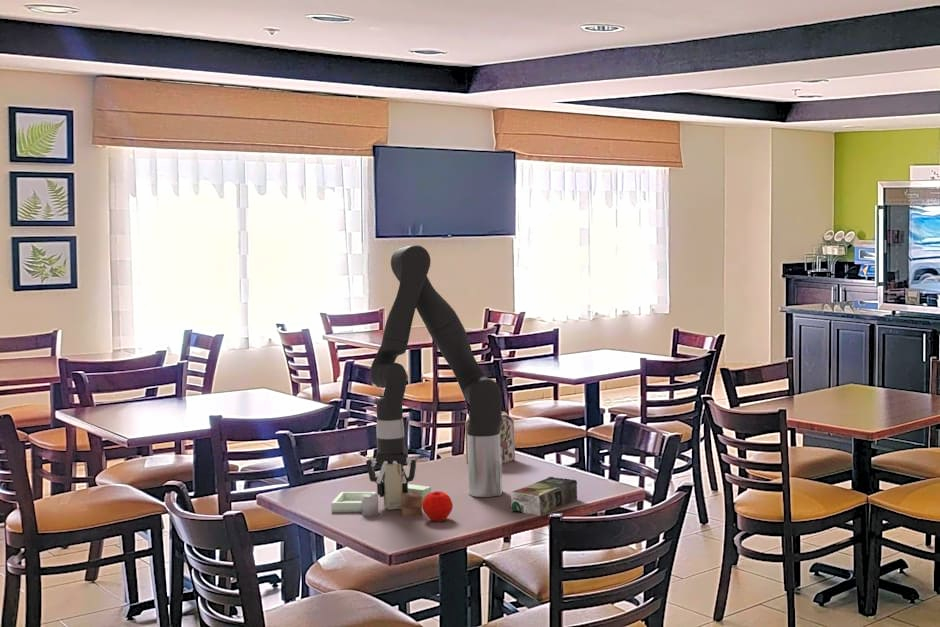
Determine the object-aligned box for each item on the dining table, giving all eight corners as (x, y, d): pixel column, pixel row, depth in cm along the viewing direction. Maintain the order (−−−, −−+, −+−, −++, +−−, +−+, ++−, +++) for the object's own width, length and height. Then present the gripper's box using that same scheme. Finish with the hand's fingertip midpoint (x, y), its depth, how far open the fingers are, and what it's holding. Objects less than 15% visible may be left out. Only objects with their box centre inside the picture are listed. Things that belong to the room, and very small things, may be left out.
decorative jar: (465, 463, 341) (463, 407, 339) (487, 456, 350) (486, 402, 348) (494, 467, 333) (492, 410, 332) (516, 460, 342) (514, 405, 340)
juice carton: (539, 517, 273) (538, 494, 273) (507, 513, 279) (507, 490, 279) (578, 501, 289) (578, 479, 289) (548, 497, 295) (548, 475, 295)
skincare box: (403, 508, 286) (402, 464, 285) (388, 510, 284) (386, 465, 283) (398, 503, 292) (396, 459, 291) (383, 505, 290) (381, 461, 290)
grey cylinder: (379, 511, 284) (379, 493, 283) (376, 516, 279) (376, 497, 279) (363, 511, 284) (363, 493, 284) (360, 516, 280) (359, 497, 279)
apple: (424, 515, 278) (423, 488, 277) (454, 515, 277) (453, 487, 277) (420, 524, 270) (419, 495, 270) (451, 523, 269) (450, 495, 269)
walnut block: (419, 510, 284) (419, 491, 284) (422, 514, 279) (421, 496, 279) (401, 511, 284) (400, 493, 283) (403, 516, 279) (402, 497, 278)
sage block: (431, 501, 294) (430, 486, 294) (423, 504, 291) (422, 490, 290) (408, 497, 298) (407, 484, 298) (399, 501, 295) (399, 487, 295)
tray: (376, 500, 296) (376, 491, 295) (368, 511, 284) (367, 502, 284) (341, 500, 297) (341, 492, 296) (331, 512, 285) (331, 502, 285)
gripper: (418, 432, 290) (420, 492, 291) (367, 432, 291) (369, 493, 292) (414, 437, 282) (416, 499, 283) (361, 438, 284) (364, 500, 285)
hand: (392, 496), depth 288 cm, fingers closed on skincare box, 5 cm apart
